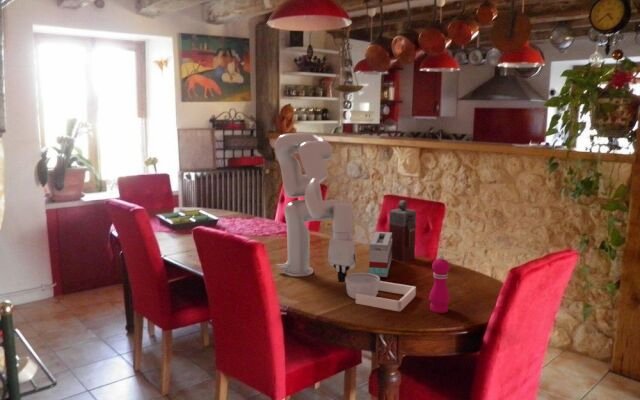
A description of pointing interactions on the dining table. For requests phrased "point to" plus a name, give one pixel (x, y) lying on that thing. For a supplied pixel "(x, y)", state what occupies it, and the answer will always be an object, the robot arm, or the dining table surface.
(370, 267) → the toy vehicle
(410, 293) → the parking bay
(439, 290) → the pepper mill
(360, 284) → the ramekin
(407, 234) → the square decanter
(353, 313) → the dining table surface
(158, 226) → the dining table surface
